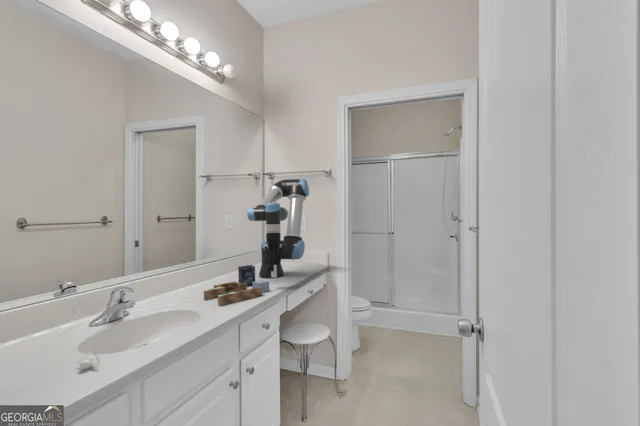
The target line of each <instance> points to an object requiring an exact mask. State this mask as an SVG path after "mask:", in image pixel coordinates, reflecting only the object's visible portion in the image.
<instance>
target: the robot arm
mask: <svg viewBox="0 0 640 426" xmlns="http://www.w3.org/2000/svg"><path fill="white" fill-rule="evenodd" d="M308 183H309V182H308V181H307V180H306V179H304V178H294V179H292V178H291V179H282V180H279V181H277V182H275V183H274V184H273V185H271V186H270V188H269V189H268V192H267V193H266V194H265V196H264V197H263V198H262V199H261V200H260V202H259V203H258V204H257V205H256V206H255V207H249V208H248V210H247V212H246V213H247V214H246V215H247V216H246V217H247V219H248V220H249V221H250V222H265V231H266V233H265V239H264V240H262V241H261V245H260V246H261V247H260V249H261V265H260V269H259V272H258V275H259V276H258V277H260V278H263V279H274V278H281V277H284V270H283V267H282V263H281V262H282V260H294V261H295V260H300V259H301V258H303V255H304V252H305V245H306V244H305V241H304V240H303V238H302V236H301V229H302V228H301V227H302V217H303V207H304V202H305V201H306V197H309V196H310V186H309V184H308ZM281 198H288V200H289V207H288V208H289V209H287V208H285V207H283V206H281V204H280V203H279V202H278V200H280V199H281ZM285 220H287V227H286V235H284V236H283V239H282V240H281V238H282V237H281V222H282V221H285Z"/></svg>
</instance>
